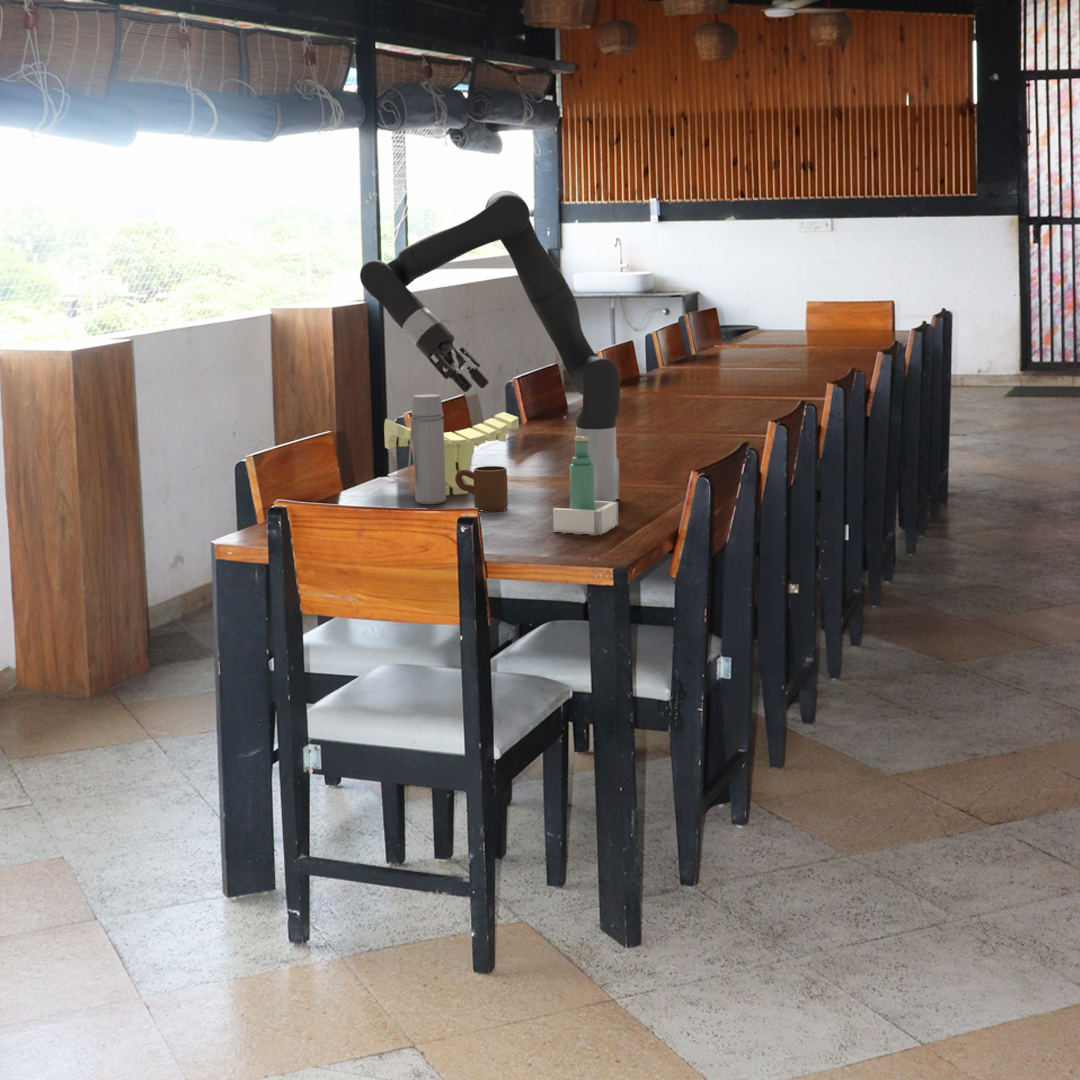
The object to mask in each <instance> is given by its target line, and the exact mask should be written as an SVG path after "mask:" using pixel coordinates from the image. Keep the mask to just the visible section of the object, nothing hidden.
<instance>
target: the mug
mask: <svg viewBox="0 0 1080 1080" xmlns="http://www.w3.org/2000/svg"><path fill="white" fill-rule="evenodd" d="M462 476H467V477H469V478H472V479H474V486H473V485H471V484H465V483H464V482H463V480H462ZM455 480H456V484H457V486H458V487H459V488H460V489H462V490H464V491H468V492H470V493H469V494H471V495H473V498H474V499H473V501H474V508H478V509H479V510H483V511H498V512H502V511H501V510H503V511H505V510H504V509H506V510H507V509H508V505H509V504H508V498H509V497H508V472H507V468H506V467H505V466H499V465H487V466H486V465H485V466H479V467H475V468H473V471H472V470H471V469H470V470H468V469H462V470H460V471H458V472H457V474H456V477H455Z"/></svg>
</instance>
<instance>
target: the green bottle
mask: <svg viewBox="0 0 1080 1080" xmlns="http://www.w3.org/2000/svg"><path fill="white" fill-rule="evenodd" d="M588 441H589V436H574V444H575V449H574V450H575V456H572V457H571V463H569V465H568V466H569V509H582V510H595V469H594V464H593V463H592V459H591V457H590V456H588Z"/></svg>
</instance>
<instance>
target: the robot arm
mask: <svg viewBox="0 0 1080 1080" xmlns="http://www.w3.org/2000/svg"><path fill="white" fill-rule="evenodd" d="M530 216H531V215H530V209H529V207H528V205H527V203H526V201H525V200H524V199H523V198H522V197H521V195H519V194H518V193H515V192H513V191H509V190H499V191H497V192H496V191H495V192H494V193H493V194H492V195H491V196H489V198H488V200H487V202H486V204H485V207H484V209H482V210H481V211H480V212H478V213H477V214H475V216H473V217H471V218H469V219H467V220H465V221H463V222H461V223H459V224H456V225H455V226H452V227H449V228H446V229H443V230H440V231H437V232H434V233H432V234H430V235H428V236H426V237H424V238H422V239H419V240H417V241H415V242H414V243H411V244H410V245H407V246H406V247H404V248H402V249H401V250H400V251H399V252H398V256H397V257H396V258H395V259H393V260H391V261H389V262H388V263H386V262H385V261H382V260H379V259H372V260H368V261H367V262H365V263H364V264H363V265H362V266H361V270H360V272H359V278H360V279H359V280H360V283H361V285H362V286H363V288H364V289H365V290H366V291H367V292H368V294H369V295H370V296H372V297H374V298H375V300H377V301H378V302H379V304H380V305H381V306H383V307H384V309H385V310H386V312H387V313H388V314H389V316H390V317H391V319H393V321H394V322H395V323H396V324H397V325H398V326H399V327H400V328H401V330H402V331H403V332H404V333H405V335H406V336H407V338H408V339H409V340H410V341H411V342H412V343H413V344H414V345H415V347H416V348H417V349H418V350H419V351H420V352H421V353H422V354H423V355H424V356H425V358H426V359H428V360H429V362H430V363H431V365H433V366H434V368H435V369H436V370H437V371H438V372H439V374H440V375H442V377H443V378H444V379H445V380H448V379H449V380H450V381H452V382H453V381H454V383H455V384H456V385H457V386H458V387H459V388H460V390H462V392H463V393H468V392H469V391H470V390H471V388H472V387H473V385H472V383H471V381H469V379H468V378H466V377H465V376H464V375H465V374H466V375H468V376H470V378H471V379H472V380H473V382H475V384H476V385H478V387H480V388H481V389H484V388H485V387H486V386H488V385H489V382H490V381H489V379H487V377H486V376H485V375H484V374H483V373H482V372H481V371H480V370H479V369H480V367H481V364H480V363H479V362H478V361H477V360H476V359H475V358H474V357H473V356H472V355H471V354H470V353H469V351H468V350H467V349H466V348H465V347H464V346H461V347H460V348H456V347H455V346H454V345H453V344H454V342H455V336H454V334H453V333H452V332H451V331H450V330H449V329H448V328H447V327H446V325H445V324H443V322H442V321H441V320H440V319H439V318H438V317H437V316H436V315H435V314H434V313H433V312H432V311H431V310H430V309H429V308H427V307H426V306H425V304H424V303H423V302H422V301H420V299H419V298H418V297H417V296H416V295H415V294H414V293H413V292H412V291H410V290H409V289H408V288H407V286H409V285H410V284H411V283H412V282H414V281H415V280H417V279H418V278H420V277H423V276H425V275H427V274H428V273H431V272H432V271H434V270H437V269H438V268H440V267H442V266H444V265H446V264H449V263H450V262H452V261H454V260H455V259H458V258H459V257H461V256H463V255H464V254H467V253H469V252H471V251H473V250H476V249H477V248H478V249H479V248H481V247H483V246H486V245H488V244H491V243H494V242H497V241H500V242H501V243H502V245H503V246H504V248H505V250H506V251H507V253H508V255H509V257H510V258H511V261H512V263H513V266H514V267H515V270H516V273H517V275H518V279H519V280H520V282H521V285H522V287H523V289H524V292H525V294H526V296H527V298H528V300H529V302H530V304H531V306H532V309H534V312H535V314H536V315H537V317H538V319H539V320H540V322H541V323H542V325H543V327H544V329H545V331H546V333H547V334H548V336H549V338H550V340H551V341H552V344H554V346H555V349H556V351H557V353H558V355H559V356H560V359H561V362H562V364H563V366H564V368H565V372H566V373H567V376H568V378H569V381H570V383H571V385H572V387H573V388H574V389H575V391H576V392H577V393H579V394H580V395H582V407H581V411H580V412H579V413H578V414H577V415H576V418H575V431H576V433H575V435H576V436H589V441H588V456H590V457H591V459H592V463H593V464H594V469H595V501H609V502H616V501H617V500H618V499H619V498H620V462H619V461H620V460H619V458H618V457H617V419H618V416H619V413H620V406H621V403H620V400H621V399H620V398H621V396H620V395H621V377H620V371H619V368H618V366H617V365H616V364H615V362H614V361H612V360H611V359H609V358H605V357H601V356H600V357H599V356H597V355H596V353H595V352H594V350H593V348H592V347H591V346H590V344H589V342H588V340H587V339H586V337H585V335H584V332H583V329H582V323H581V319H580V315H579V308H578V307H579V306H578V303H577V300H576V297H575V296H574V294H573V291H572V290H571V288H570V286H569V284H568V282H567V281H566V279H565V277H564V275H563V274H562V272H561V270H560V269H559V267H558V266H557V264H556V263H555V261H554V260H553V259H552V257H551V255H550V254H549V253H548V252H547V250H546V249H545V248H544V246H543V245H542V243H541V241H540V240H539V238H538V235H537V234H536V231H535V229H534V226H533V225H532V221H531V220H530ZM463 373H465V374H463Z"/></svg>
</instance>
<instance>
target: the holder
mask: <svg viewBox="0 0 1080 1080" xmlns="http://www.w3.org/2000/svg"><path fill="white" fill-rule="evenodd" d="M552 512H553V513H552V515H553V516H552V518H553V519H552V522H553V523H552V525H553V531H552V532H553V533H554V532H562V533H561V534H566V533H574V534H573V535H581V534H589V535H588V536H597V535H600V536H602V535H603V533H604V534H605V533H607V532H609V531H611V530H612V529H614V528H616V527H618V526H619V502H618V501H613V502H609V501H595V510H582V509H570V508H560V507H554V508H553V509H552ZM617 525H618V526H617ZM615 526H616V527H615ZM610 529H611V530H610ZM601 534H602V535H601Z"/></svg>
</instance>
